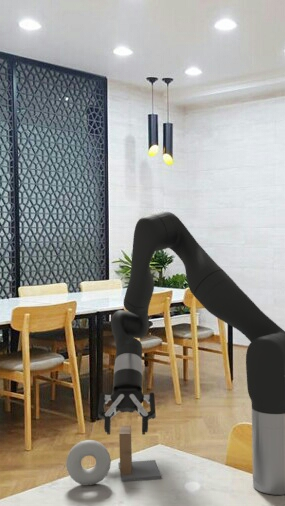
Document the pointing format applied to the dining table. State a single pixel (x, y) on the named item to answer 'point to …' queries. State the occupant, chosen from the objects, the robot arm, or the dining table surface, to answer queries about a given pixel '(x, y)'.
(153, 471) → the rubber mat
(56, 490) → the dining table surface
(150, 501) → the dining table surface
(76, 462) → the donut
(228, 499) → the dining table surface
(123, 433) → the walnut slab
